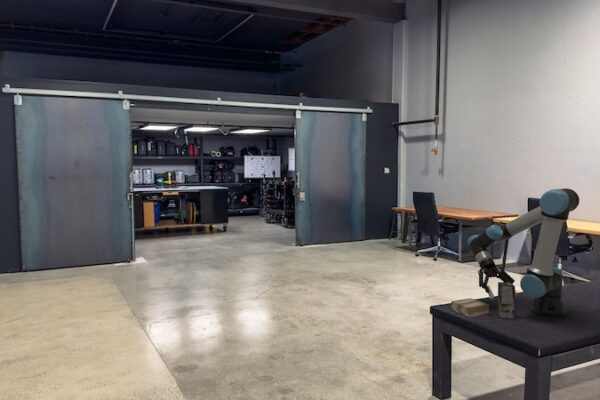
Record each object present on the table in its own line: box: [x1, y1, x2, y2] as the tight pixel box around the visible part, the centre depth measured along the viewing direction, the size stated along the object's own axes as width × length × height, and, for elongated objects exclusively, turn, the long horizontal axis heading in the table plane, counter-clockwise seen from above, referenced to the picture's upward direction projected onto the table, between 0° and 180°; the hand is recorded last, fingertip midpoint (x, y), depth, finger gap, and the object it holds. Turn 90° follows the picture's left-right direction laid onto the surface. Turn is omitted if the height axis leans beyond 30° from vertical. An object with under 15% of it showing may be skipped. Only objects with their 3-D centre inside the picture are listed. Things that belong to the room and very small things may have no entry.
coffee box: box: [497, 281, 516, 320], centre depth 240 cm, size 9×6×16 cm
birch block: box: [450, 297, 490, 318], centre depth 247 cm, size 13×13×5 cm
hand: (504, 296), depth 241 cm, fingers open, 13 cm apart
